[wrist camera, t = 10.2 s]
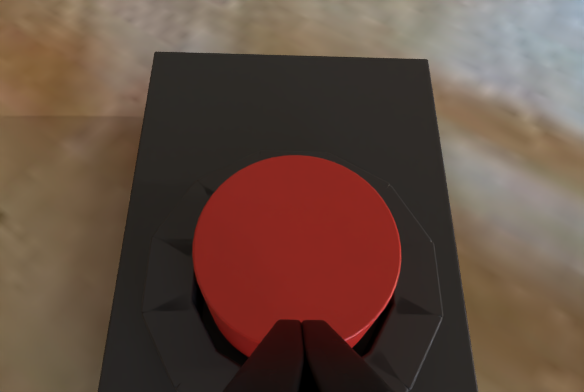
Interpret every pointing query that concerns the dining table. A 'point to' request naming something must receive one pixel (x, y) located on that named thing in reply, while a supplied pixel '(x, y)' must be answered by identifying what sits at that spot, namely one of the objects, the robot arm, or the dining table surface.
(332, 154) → the power block
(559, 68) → the dining table surface
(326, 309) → the power button
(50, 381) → the dining table surface
